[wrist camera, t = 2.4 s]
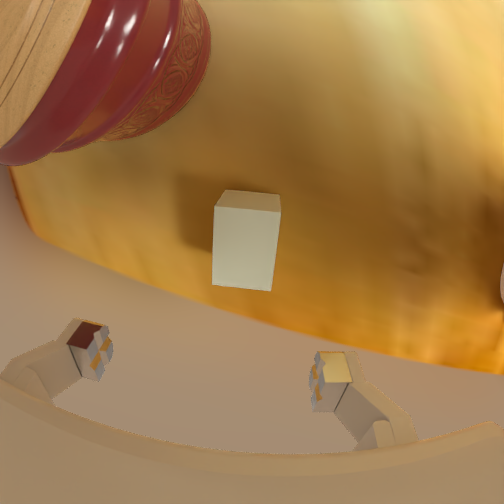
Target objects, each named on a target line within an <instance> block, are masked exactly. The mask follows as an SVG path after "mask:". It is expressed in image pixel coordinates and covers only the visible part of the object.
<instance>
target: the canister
mask: <svg viewBox="0 0 504 504" xmlns="http://www.w3.org/2000/svg"><path fill="white" fill-rule="evenodd" d="M210 52H211V34H210V27H209V23H208V20H207V17H206V15H205V13H204V11H203V9H202V8H201V6H200V5H199V3H198V2H197V0H0V164H2V165H7V166H20V165H25V164H29V163H31V162H34V161H37V160H39V159H41V158H43V157H45V156H46V155H48V154H49V153H60V152H67V151H71V150H75V149H78V148H81V147H83V146H86V145H88V144H90V143H94V142H98V141H103V140H105V141H114V140H123V139H127V138H132V137H136V136H139V135H142V134H144V133H147V132H149V131H151V130H153V129H155V128H157V127H158V126H160V125H162V124H163V123H165V122H166V121H167V120H169V119H170V118H171V117H173V116H174V115H175V114H176V113H178V112H179V111H180V110H181V109H182V108H183V107H184V106H185V105H186V104H187V103H188V102H189V100H190V99H191V98H192V97H193V95H194V94H195V92H196V91H197V89H198V87H199V86H200V84H201V82H202V80H203V78H204V76H205V73H206V70H207V67H208V64H209V59H210Z"/></svg>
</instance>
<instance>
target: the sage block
mask: <svg viewBox="0 0 504 504" xmlns="http://www.w3.org/2000/svg"><path fill="white" fill-rule="evenodd" d="M280 219H281V203H280V195H278V194H269V193H259V192H249V191H238V190H227V189H226V190H225V191H224V193H223V194H222V195H221V197H220V198H219V200H218V201H217V203H216V204H215V206H214V227H213V258H212V285H219V286H228V287H236V288H245V289H255V290H264V291H271V287H272V280H273V273H274V265H275V258H276V250H277V243H278V235H279V227H280Z"/></svg>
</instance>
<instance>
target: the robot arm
mask: <svg viewBox="0 0 504 504" xmlns="http://www.w3.org/2000/svg"><path fill="white" fill-rule="evenodd" d="M500 292H501V297H502V300H503V302H504V264H503V268H502V273H501V281H500ZM108 335H109V329H108V326H106V325H103V324H99V323H96V322H92V321H88V320H83V319H80V318H74V319H73V320H72V321H71V322H70V323H69V325H68V326H67V327H66V329H65V330H64V331H63V332H62V334H61V335H60V336H59V337H58V339H57V340H56V341H54V340H52V341H50V342H48V343H46V344H44V345H41V346H39V347H37V348H35V349H33V350H31V351H28V352H26V353H24V354H22V355H20V356H17V357H15V358H13V359H12V360H11V361H10V362H9V364H8V365H7V366H6V367H5V369H4V370H3V371H2V373H1V374H0V504H504V429H503V428H502V427H500V426H499V425H498V424H496V423H493V422H492V421H486V422H483V423H480V424H477V425H474V426H471V427H468V428H465V429H462V430H459V431H455V432H451V433H448V434H445V435H441V436H437V437H433V438H429V439H425V440H420V441H419V440H418V437H417V434H416V431H415V428H414V425H413V422H412V419H411V417H410V415H409V414H407V413H406V412H405V411H403V410H402V409H401V408H400V407H399V406H398V405H396V404H395V403H394V402H393V401H392V400H390V399H389V398H388V397H387V396H386V395H384V394H383V393H382V392H381V391H380V390H378V389H377V388H376V387H375V386H374V385H372V384H371V383H370V382H366V380H365V377H364V374H363V371H362V367H361V364H360V362H359V358H358V355H357V353H356V352H325V351H321V352H320V351H318V352H317V353H316V355H315V358H314V359H315V365H313V366H312V368H311V371H310V377H309V387H310V390H311V391H312V392H313V394H312V397H311V403H312V411H313V412H334V414H335V415H336V416H337V418H338V419H339V420H340V421H341V422H342V424H343V425H344V426H345V427H346V429H347V430H348V431H349V432H350V433H351V435H352V436H353V437H354V438H355V439H356V440H357V442H358V444H357V445H356V447H355V448H354V449H353V451H350V452H338V453H323V454H322V453H321V454H264V453H249V452H236V451H226V450H218V449H210V448H203V447H196V446H190V445H184V444H179V443H174V442H169V441H164V440H159V439H154V438H151V437H146V436H142V435H138V434H135V433H131V432H127V431H123V430H120V429H116V428H114V427H110V426H107V425H104V424H101V423H98V422H95V421H92V420H89V419H87V418H84V417H81V416H78V415H76V414H73V413H71V412H68V411H66V410H63V409H61V408H58V407H56V406H55V404H54V403H53V401H52V399H53V398H54V397H56V396H57V395H58V394H60V393H61V392H63V391H64V390H65V389H67V388H68V387H70V386H71V385H72V384H74V383H75V382H77V381H78V380H80V379H81V378H82V377H84V378H87V379H91V380H94V381H98V382H99V381H100V379H101V377H102V375H103V373H104V371H105V368H104V365H106V364H108V363H109V362H110V360H111V358H112V354H113V344H112V341H111V340H110V339H109V337H108Z"/></svg>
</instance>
